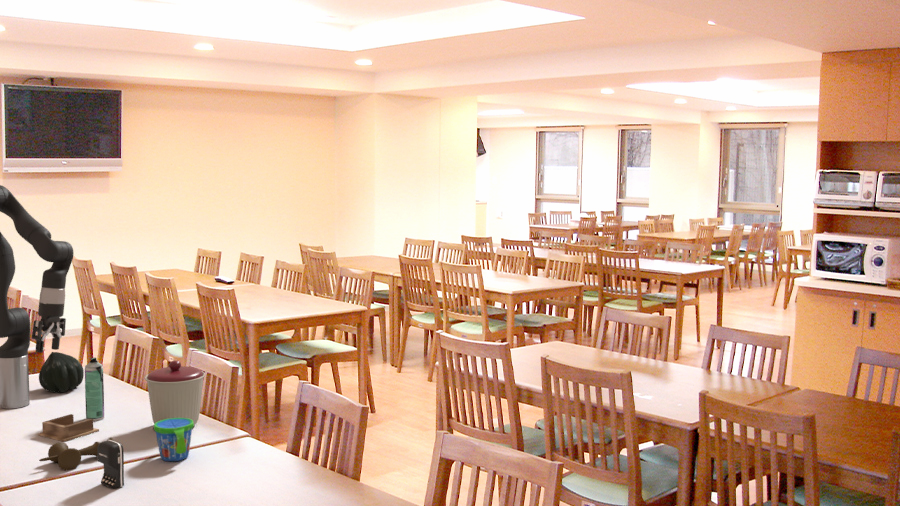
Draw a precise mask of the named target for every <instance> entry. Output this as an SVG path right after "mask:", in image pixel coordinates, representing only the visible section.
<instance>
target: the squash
mask: <svg viewBox="0 0 900 506" xmlns="http://www.w3.org/2000/svg"><path fill="white" fill-rule="evenodd" d="M84 377H85V369H84V367H83V366H82V364H81V362H80V361H79V360H78V359H77V358H76V357H74V356H72V355H69V354H66V353H63V352H58V351H51V352H50V353H49V355H48V357H47V358H46V360H45V361H44V363H43V364H42V366H41V368H40V371H39V373H38V381H39V385H40V387H42V389H44V390H45V391H47V392H51V393H54V392H57V393H59V391H60V392H61V393H66V392H68V391H69V390H72V389H75V387H76V388H77V387H79V386H80V385H81V384H82V382H83V380H84Z"/></svg>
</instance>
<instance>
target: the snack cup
mask: <svg viewBox="0 0 900 506" xmlns="http://www.w3.org/2000/svg"><path fill="white" fill-rule="evenodd" d="M194 427H195V425H194V424H193V420H191V419H188V418H169V419H164V420H160V421H158V422H156V423H155V424H154V423H153V430H154V432H155V435H156V442H157V445H158V451H159V457H160V459H161V460H163V461H164V462H180V461H183V460H184V459H186V458H188V457H189V454H190V446H191V441H192V433H193V428H194Z"/></svg>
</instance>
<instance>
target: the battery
mask: <svg viewBox="0 0 900 506" xmlns="http://www.w3.org/2000/svg"><path fill="white" fill-rule="evenodd" d="M124 454H125V453H124V447H123V444H122V443H121V442H119V441H117V440H115V439H114V440H108V439H107V440H103V441H101V443H100V444H99V445H98V451H97V462H98V463H101V464H103V474H102V478H101V481H100V484H101V485H102V486H105V487H107V488H109V489H117V488H122V487H124V486H125V480H124V479H125V475H124V474H125V473H124V472H125V468H124V467H125V466H124V463H125V462H124V461H125V460H124V459H125V458H124V457H125V456H124Z"/></svg>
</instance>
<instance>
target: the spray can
mask: <svg viewBox="0 0 900 506" xmlns="http://www.w3.org/2000/svg"><path fill="white" fill-rule="evenodd" d="M84 389H85V390H84V393H85V395H84V397H85V420H88V419H93V422H97V421H102V420H104V419H105V394H104V393H105V388H104V367H103V363H100V362H99V361H98V359H97V357H91V358H90V361H89V362H88V363H87V364H86V365H84Z"/></svg>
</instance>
